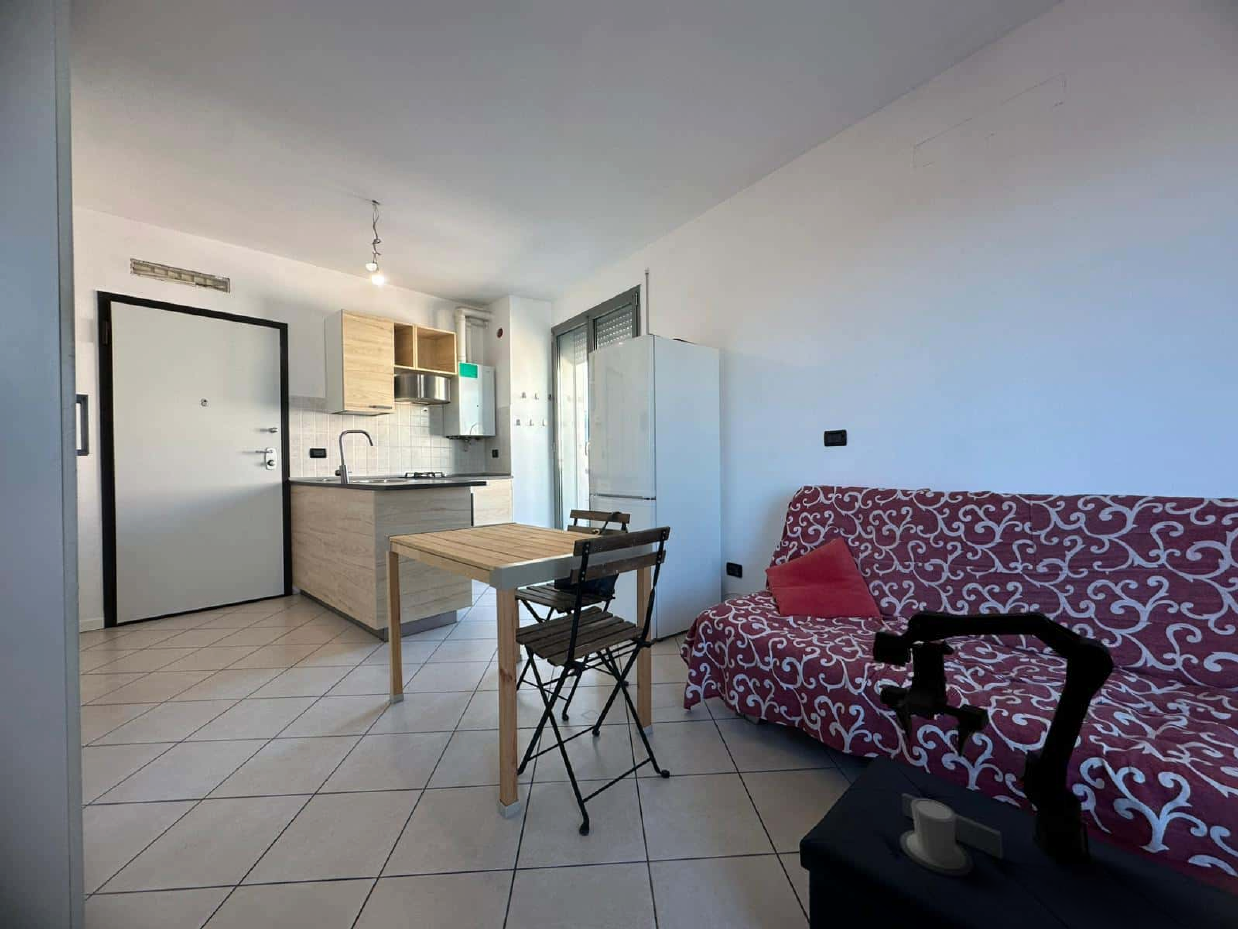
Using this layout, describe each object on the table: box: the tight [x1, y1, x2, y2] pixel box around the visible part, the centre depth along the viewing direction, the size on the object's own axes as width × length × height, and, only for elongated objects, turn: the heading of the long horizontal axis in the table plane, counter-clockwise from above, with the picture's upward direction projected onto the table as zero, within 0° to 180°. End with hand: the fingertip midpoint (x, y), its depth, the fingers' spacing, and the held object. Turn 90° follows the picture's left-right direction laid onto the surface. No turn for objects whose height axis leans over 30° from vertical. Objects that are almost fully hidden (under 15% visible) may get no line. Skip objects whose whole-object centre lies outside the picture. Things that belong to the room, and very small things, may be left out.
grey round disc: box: [899, 829, 974, 877], centre depth 86 cm, size 11×11×1 cm
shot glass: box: [911, 797, 956, 861], centre depth 86 cm, size 7×7×7 cm
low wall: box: [901, 792, 1004, 860], centre depth 91 cm, size 16×1×4 cm, turn 40°
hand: (934, 748), depth 100 cm, fingers open, 9 cm apart
